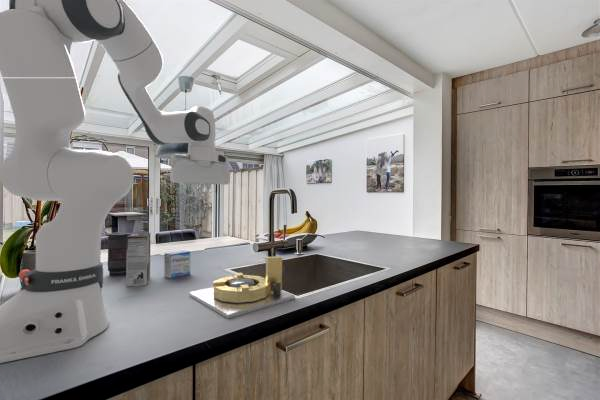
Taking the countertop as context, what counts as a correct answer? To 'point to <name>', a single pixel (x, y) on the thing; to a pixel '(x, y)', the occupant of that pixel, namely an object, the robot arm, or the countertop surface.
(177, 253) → the medicine box
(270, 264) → the lens holder
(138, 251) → the coffee box
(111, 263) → the camera lens
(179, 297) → the countertop surface
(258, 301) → the base plate
